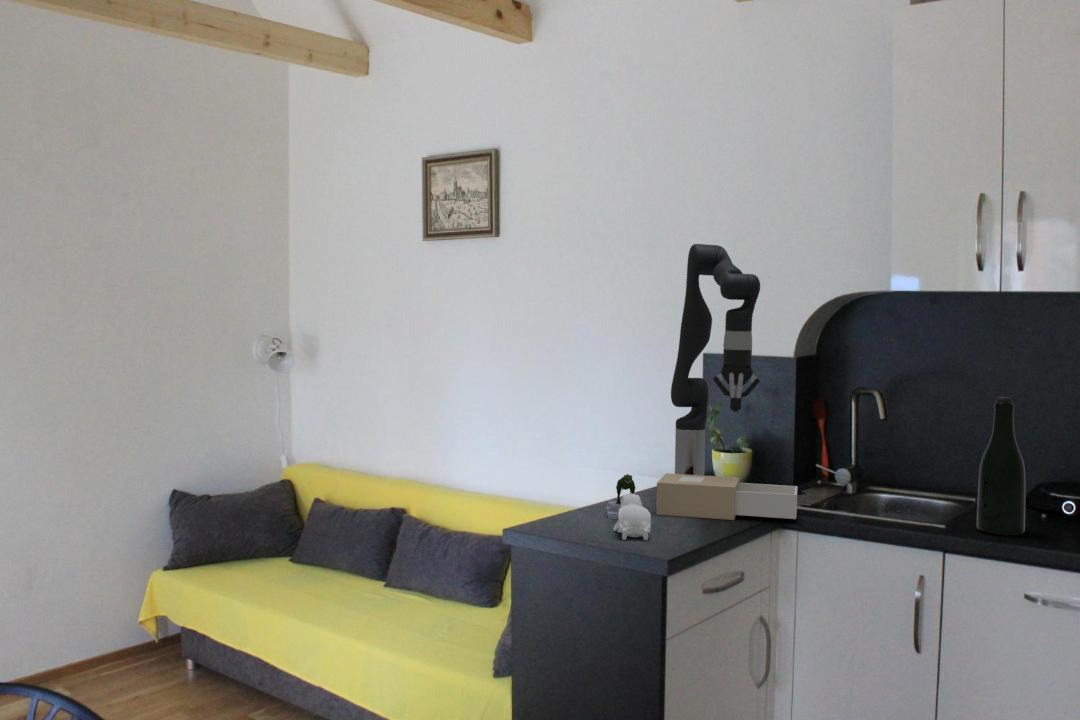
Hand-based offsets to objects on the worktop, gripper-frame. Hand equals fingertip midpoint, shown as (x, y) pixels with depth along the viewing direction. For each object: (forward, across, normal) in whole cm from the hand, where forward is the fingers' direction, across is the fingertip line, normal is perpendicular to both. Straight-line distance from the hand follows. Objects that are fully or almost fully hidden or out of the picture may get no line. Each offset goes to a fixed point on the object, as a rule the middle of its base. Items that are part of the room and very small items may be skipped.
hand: (735, 411), depth 248 cm
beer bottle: (+25, -65, +10) cm, 70 cm away
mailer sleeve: (+26, +8, +9) cm, 29 cm away
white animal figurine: (+26, +20, +41) cm, 52 cm away
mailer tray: (+25, -7, +9) cm, 27 cm away
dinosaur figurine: (+27, +26, +19) cm, 42 cm away
